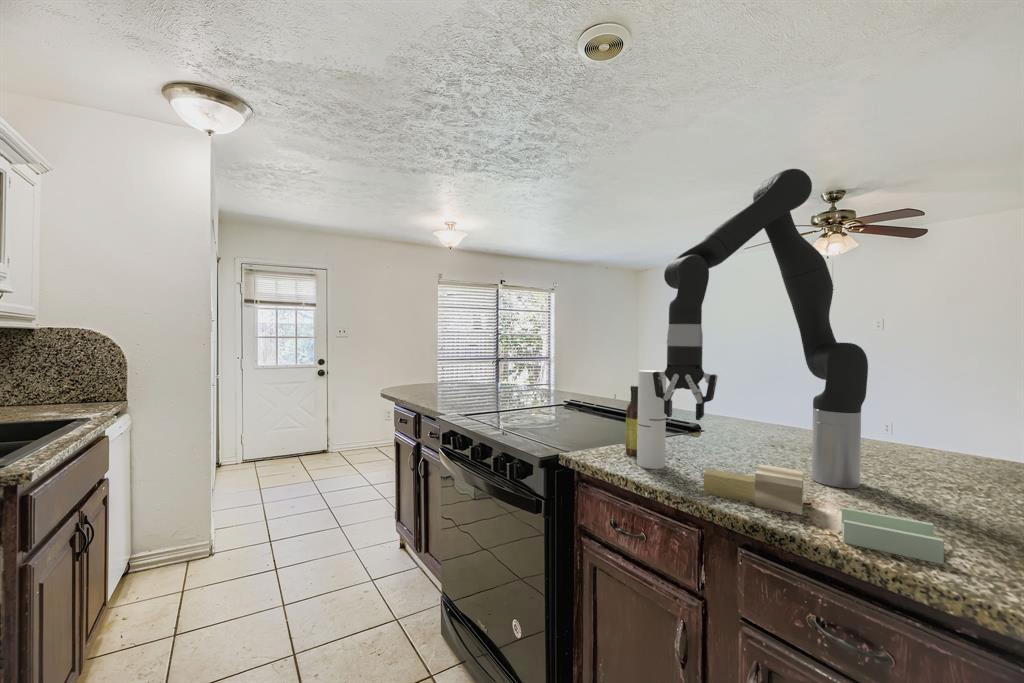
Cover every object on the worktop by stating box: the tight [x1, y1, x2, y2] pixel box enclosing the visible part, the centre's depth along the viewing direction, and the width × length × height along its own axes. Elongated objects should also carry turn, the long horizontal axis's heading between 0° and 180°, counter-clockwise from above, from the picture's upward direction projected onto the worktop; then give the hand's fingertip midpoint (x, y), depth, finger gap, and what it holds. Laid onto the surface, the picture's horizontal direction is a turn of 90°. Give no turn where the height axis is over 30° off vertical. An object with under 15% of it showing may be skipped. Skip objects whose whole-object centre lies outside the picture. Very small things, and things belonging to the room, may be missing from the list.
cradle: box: [840, 506, 945, 565], centre depth 73 cm, size 8×12×4 cm, turn 55°
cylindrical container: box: [636, 369, 667, 470], centre depth 118 cm, size 7×7×25 cm
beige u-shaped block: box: [754, 463, 804, 516], centre depth 90 cm, size 8×8×7 cm
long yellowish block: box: [703, 468, 805, 509], centre depth 93 cm, size 4×18×4 cm, turn 53°
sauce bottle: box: [624, 385, 638, 457], centre depth 129 cm, size 7×6×20 cm
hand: (683, 417), depth 101 cm, fingers open, 5 cm apart
